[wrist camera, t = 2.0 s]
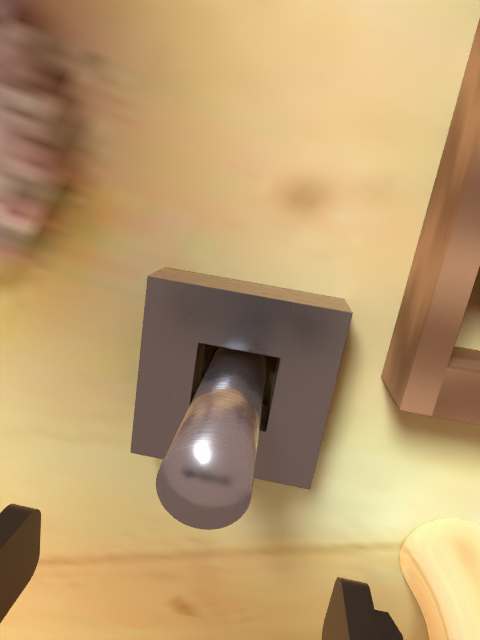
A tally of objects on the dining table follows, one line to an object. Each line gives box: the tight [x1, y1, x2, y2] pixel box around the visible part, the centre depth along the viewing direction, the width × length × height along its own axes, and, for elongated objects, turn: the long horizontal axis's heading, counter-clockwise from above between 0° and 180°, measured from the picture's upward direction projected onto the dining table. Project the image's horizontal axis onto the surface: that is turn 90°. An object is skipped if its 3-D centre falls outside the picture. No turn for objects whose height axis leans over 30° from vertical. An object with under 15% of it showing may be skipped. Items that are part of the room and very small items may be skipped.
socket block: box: [131, 267, 352, 489], centre depth 23 cm, size 10×10×3 cm
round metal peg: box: [156, 347, 267, 530], centre depth 19 cm, size 3×3×11 cm
